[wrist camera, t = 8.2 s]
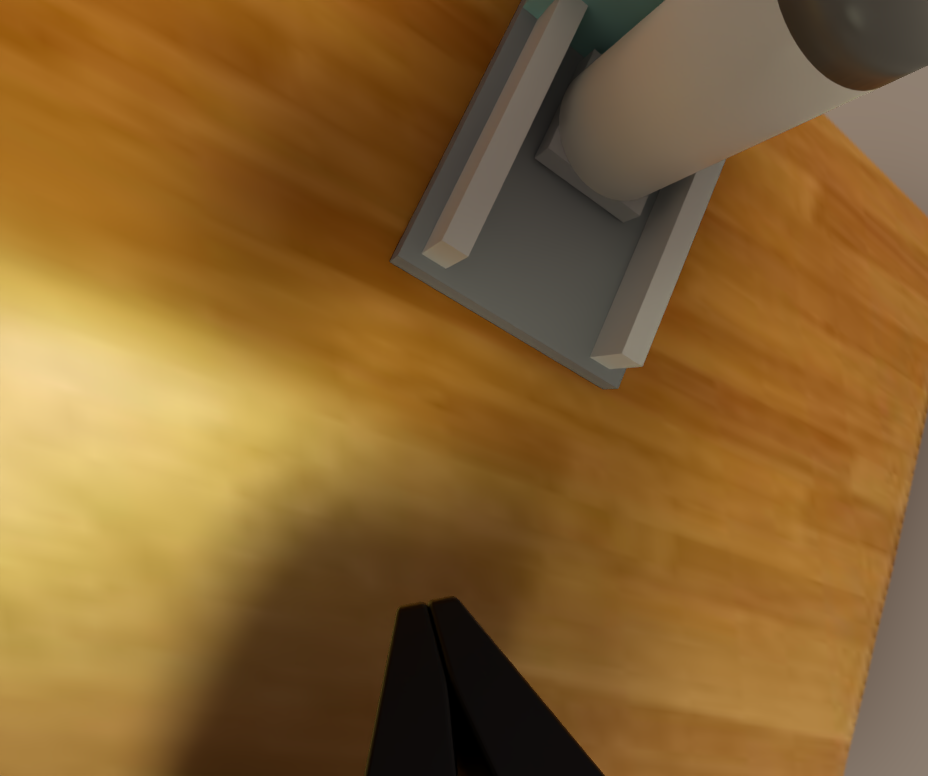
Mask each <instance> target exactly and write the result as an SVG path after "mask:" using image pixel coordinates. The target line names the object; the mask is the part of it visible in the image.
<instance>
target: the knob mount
mask: <svg viewBox="0 0 928 776" xmlns="http://www.w3.org/2000/svg"><path fill="white" fill-rule="evenodd" d="M663 1H665V0H521V2H520V4H519V6H518V8H517V10H516V12H515V14H514V16H513V18H512V20H511V22H510V24H509V26H508V28H507V30H506V32H505V34H504V36H503V38H502V40H501V42H500V44H499V46H498V48H497V50H496V52H495V54H494V56H493V58H492V60H491V62H490V64H489V66H488V68H487V70H486V72H485V74H484V76H483V78H482V80H481V82H480V84H479V86H478V88H477V90H476V91H475V93H474V95H473V97H472V99H471V101H470V103H469V105H468V107H467V109H466V111H465V113H464V115H463V117H462V119H461V121H460V123H459V125H458V127H457V129H456V131H455V133H454V135H453V137H452V139H451V141H450V143H449V145H448V147H447V149H446V151H445V153H444V155H443V157H442V159H441V161H440V163H439V165H438V167H437V169H436V171H435V173H434V175H433V177H432V179H431V181H430V183H429V184H428V186H427V188H426V190H425V192H424V194H423V196H422V198H421V200H420V202H419V204H418V206H417V208H416V210H415V212H414V214H413V216H412V218H411V220H410V222H409V224H408V226H407V228H406V230H405V232H404V234H403V236H402V238H401V240H400V242H399V244H398V246H397V248H396V250H395V252H394V254H393V256H392V258H391V260H390V262H391V263H393V264H394V265H396V266H398V267H399V268H401V269H403V270H404V271H406V272H408V273H409V274H411V275H413V276H414V277H416V278H418V279H419V280H421V281H423V282H424V283H426V284H428V285H429V286H431V287H433V288H434V289H436V290H438V291H439V292H441V293H443V294H444V295H446V296H448V297H449V298H451V299H453V300H454V301H456V302H458V303H459V304H461V305H463V306H465V307H466V308H468V309H470V310H471V311H473V312H475V313H476V314H478V315H480V316H481V317H483V318H485V319H486V320H488V321H490V322H491V323H493V324H495V325H496V326H498V327H500V328H501V329H503V330H505V331H506V332H508V333H510V334H511V335H513V336H515V337H516V338H518V339H520V340H521V341H523V342H525V343H526V344H528V345H530V346H531V347H533V348H535V349H537V350H538V351H540V352H542V353H543V354H545V355H547V356H548V357H550V358H552V359H553V360H555V361H557V362H558V363H560V364H562V365H563V366H565V367H567V368H568V369H570V370H572V371H573V372H575V373H577V374H578V375H580V376H582V377H583V378H585V379H587V380H588V381H590V382H592V383H593V384H595V385H597V386H598V387H600V388H602V389H618V388H619V385H620V383H621V380H622V378H623V375H624V373H625V370H626V368H631V367H643V364H644V362H645V359H646V357H647V354H648V352H649V349H650V347H651V344H652V342H653V339H654V337H655V334H656V332H657V329H658V327H659V324H660V322H661V319H662V317H663V314H664V312H665V309H666V307H667V304H668V302H669V299H670V297H671V294H672V292H673V289H674V287H675V284H676V282H677V279H678V277H679V274H680V272H681V269H682V267H683V264H684V262H685V260H686V257H687V255H688V252H689V250H690V247H691V245H692V242H693V240H694V237H695V235H696V232H697V230H698V227H699V225H700V222H701V220H702V217H703V215H704V212H705V210H706V207H707V205H708V202H709V200H710V197H711V195H712V192H713V190H714V187H715V185H716V182H717V180H718V177H719V175H720V172H721V170H722V167H723V165H724V162H725V160H726V159H724V160H722V161H720V162H718V163H716V164H713V165H711V166H709V167H707V168H705V169H703V170H700V171H698V172H696V173H694V174H692V175H690V176H687V177H685V178H683V179H681V180H679V181H677V182H675V183H672V184H670V185H668V186H666V187H664V188H662V189H659V190H657V191H655V192H653V193H651V194H649V196H648V198H647V200H646V203H645V205H644V207H643V210H642V212H641V215H640V216H638V217H636V218H633V219H631V220H629V221H626V222H624V223H623V222H622V221H620V220H619V219H618V218H616V217H615V216H614V215H612V214H611V213H609V212H608V211H607V210H605V209H604V208H603V207H601V206H600V205H598V204H597V203H596V202H594V201H593V200H592V199H590V198H589V197H587V196H586V195H585V194H583V193H582V192H580V191H579V190H578V189H576V188H575V187H574V186H572V185H571V184H569V183H568V182H567V181H565V180H564V179H563V178H561V177H560V176H558V175H557V174H556V173H554V172H553V171H552V170H550V169H549V168H547V167H546V166H545V165H543V164H542V163H541V162H539V161H538V160H536V159H535V155H536V153H537V151H538V149H539V147H540V145H541V143H542V141H543V138H544V136H545V134H546V132H547V130H548V128H549V126H550V124H551V122H552V119H553V117H554V115H555V113H556V111H557V109H558V107H559V105H560V102H561V100H562V98H563V96H564V94H565V92H566V90H567V88H568V85H569V83H570V81H571V79H572V77H573V75H574V73H575V71H576V69H577V66H578V64H579V62H580V61H582V60H583V59H584V58H585V57H586V56H587V55H588V54H589V53H590V52H592V51H593V50H594V49H595V50H596V51H598V52H599V53H600V54H601V55H602V54H603V53H605V52H606V51H607V50H608V49H609V48H610V47H611V46H613V45H614V44H615V43H616V42H617V41H618V40H620V39H621V38H622V37H623V36H624V35H625V34H626V33H628V32H629V31H630V30H631V29H632V28H633V27H635V26H636V25H637V24H638V23H639V22H640V21H642V20H643V19H644V18H645V17H646V16H647V15H648V14H650V13H651V12H652V11H653V10H654V9H655V8H657V7H658V6H659V5H660V4H661V3H662V2H663Z"/></svg>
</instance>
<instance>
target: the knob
mask: <svg viewBox="0 0 928 776" xmlns="http://www.w3.org/2000/svg"><path fill="white" fill-rule="evenodd" d="M925 66H928V0H665V1H663V2H662V3H661V4H660V5H659V6H658V7H657V8H655V9H654V10H653V11H652V12H651V13H650V14H648V15H647V16H646V17H645V18H644V19H643V20H642V21H640V22H639V23H638V24H637V25H636V26H635V27H633V28H632V29H631V30H630V31H629V32H628V33H626V34H625V35H624V36H623V37H622V38H621V39H620V40H618V41H617V42H616V43H615V44H614V45H613V46H611V47H610V48H609V49H608V50H607V51H606V52H605V53H603V54H602V55H601V54H600V53H599V52H598V51H596V50H595V49H594V50H593V51H592V52H590V53H589V54H588V55H587V56H586V57H585V58H584V59H583V60H582V61H580V62H579V64H578V66H577V69H576V71H575V73H574V75H573V77H572V79H571V81H570V83H569V85H568V88H567V90H566V92H565V94H564V96H563V98H562V100H561V102H560V105H559V107H558V109H557V111H556V113H555V115H554V117H553V119H552V122H551V124H550V126H549V128H548V130H547V132H546V134H545V136H544V138H543V141H542V143H541V145H540V147H539V149H538V151H537V153H536V155H535V159H536V160H538V161H539V162H541V163H542V164H543V165H545V166H546V167H547V168H549V169H550V170H552V171H553V172H554V173H556V174H557V175H558V176H560V177H561V178H563V179H564V180H565V181H567V182H568V183H569V184H571V185H572V186H574V187H575V188H576V189H578V190H579V191H580V192H582V193H583V194H585V195H586V196H587V197H589V198H590V199H592V200H593V201H594V202H596V203H597V204H598V205H600V206H601V207H603V208H604V209H605V210H607V211H608V212H609V213H611V214H612V215H614V216H615V217H616V218H618V219H619V220H620V221H622V222H623V223H624V222H626V221H629V220H631V219H633V218H636V217H638V216H640V215H641V212H642V210H643V207H644V205H645V203H646V200H647V198H648V196H649V194H651V193H653V192H655V191H657V190H659V189H662V188H664V187H666V186H668V185H670V184H672V183H675V182H677V181H679V180H681V179H683V178H685V177H687V176H690V175H692V174H694V173H696V172H698V171H700V170H703V169H705V168H707V167H709V166H711V165H713V164H716V163H718V162H720V161H722V160H724V159H726V158H729V157H731V156H733V155H735V154H737V153H739V152H742V151H744V150H746V149H748V148H750V147H752V146H755V145H757V144H759V143H761V142H763V141H765V140H768V139H770V138H772V137H774V136H776V135H778V134H781V133H783V132H785V131H787V130H789V129H791V128H794V127H796V126H798V125H800V124H802V123H804V122H806V121H809V120H811V119H813V118H815V117H817V116H819V115H822V114H824V113H826V112H828V111H830V110H832V109H834V108H837V107H839V106H841V105H843V104H845V103H848V102H850V101H852V100H854V99H856V98H858V97H861V96H863V95H865V94H867V93H869V92H871V91H873V90H876V89H878V88H880V87H882V86H884V85H886V84H889V83H891V82H893V81H895V80H897V79H899V78H902V77H904V76H906V75H908V74H910V73H912V72H915V71H917V70H919V69H921V68H923V67H925Z"/></svg>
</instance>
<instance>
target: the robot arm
mask: <svg viewBox="0 0 928 776" xmlns="http://www.w3.org/2000/svg"><path fill="white" fill-rule="evenodd" d="M364 776H605V775H604V774H603V773H602V772H601V770H600V769H599V768H598V767H597V766H596V764H595V763H594V762H593V761H592V760H591V758H590V757H589V756H588V755H587V754H586V752H585V751H584V750H583V749H582V748H581V746H580V745H579V744H578V743H577V742H576V740H575V739H574V738H573V737H572V735H571V734H570V733H569V732H568V731H567V729H566V728H565V727H564V726H563V725H562V723H561V722H560V721H559V720H558V719H557V717H556V716H555V715H554V714H553V713H552V711H551V710H550V709H549V708H548V707H547V705H546V704H545V703H544V702H543V701H542V699H541V698H540V697H539V696H538V694H537V693H536V692H535V691H534V690H533V688H532V687H531V686H530V685H529V684H528V682H527V681H526V680H525V679H524V678H523V676H522V675H521V674H520V673H519V672H518V670H517V669H516V668H515V667H514V666H513V664H512V663H511V662H510V661H509V659H508V658H507V657H506V656H505V655H504V653H503V652H502V651H501V650H500V649H499V647H498V646H497V645H496V644H495V643H494V641H493V640H492V639H491V638H490V637H489V635H488V634H487V633H486V632H485V631H484V629H483V628H482V627H481V626H480V624H479V623H478V622H477V621H476V620H475V618H474V617H473V616H472V615H471V614H470V612H469V611H468V610H467V609H466V608H465V606H464V605H463V604H462V603H461V602H460V600H458V599H457V598H456V597H454V596H449V597H444V598H439V599H433V600H430V601H429V602H428V604H427V605H426V604H425V603H423V602H418V603H413V604H408V605H403V606H400V607H399V608H398V609H397V612H396V617H395V622H394V627H393V632H392V637H391V642H390V647H389V652H388V657H387V662H386V667H385V672H384V677H383V682H382V687H381V692H380V697H379V702H378V707H377V712H376V717H375V723H374V728H373V733H372V738H371V743H370V748H369V753H368V758H367V763H366V768H365V773H364Z"/></svg>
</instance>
